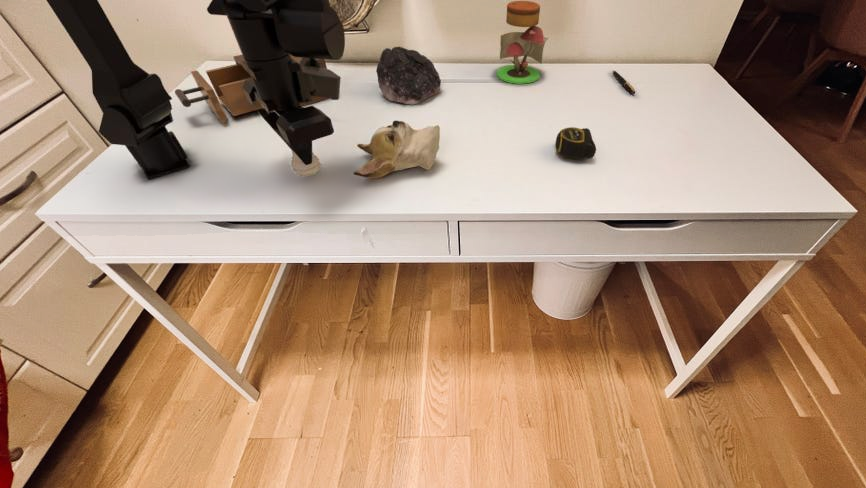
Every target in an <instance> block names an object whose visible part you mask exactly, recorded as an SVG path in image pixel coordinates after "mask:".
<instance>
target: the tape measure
mask: <svg viewBox="0 0 866 488" xmlns="http://www.w3.org/2000/svg"><path fill="white" fill-rule="evenodd" d="M554 143H555V144H554V145H555V149H556V152H557V153H558V154H559V155H560V156H562V157H564V158H566V159H570V160H583V159H592V158H594V157H595V155H596V151H597V147H596V144H595V142H594V140H593V136H592V133H591V130H590V128H588V127H587V128H584V127H583V128H579V127H573V126H571V127H566V128H563V129H561V130H560V131H559V132H558V134H557V135H556V139H555V142H554Z"/></svg>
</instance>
